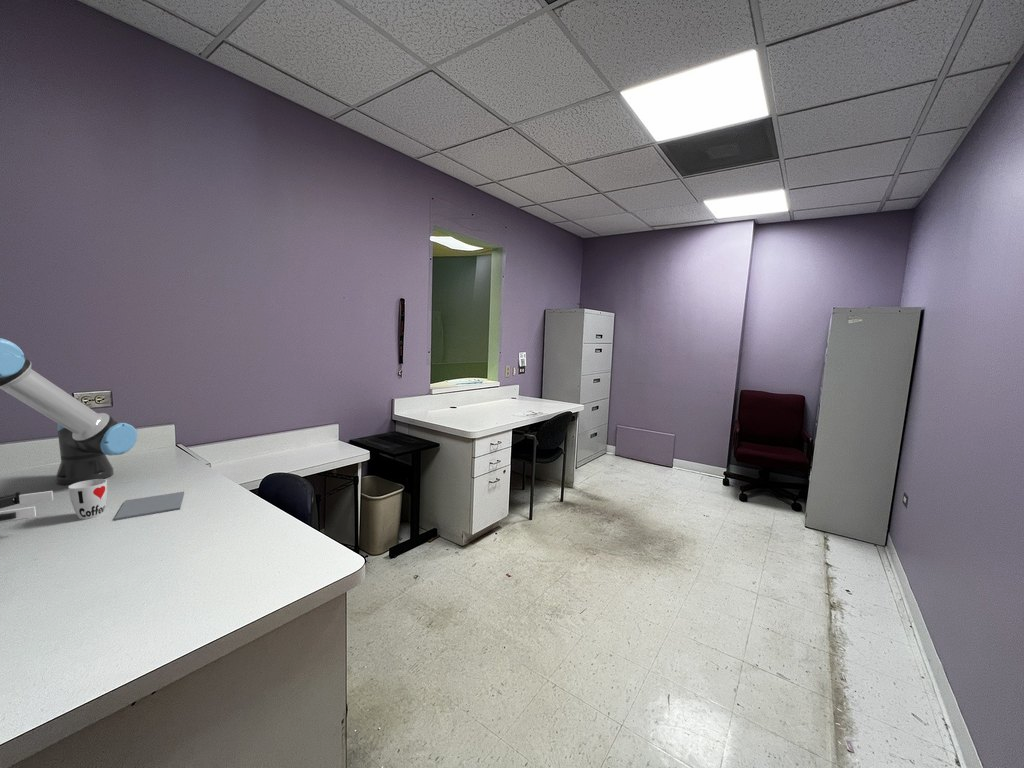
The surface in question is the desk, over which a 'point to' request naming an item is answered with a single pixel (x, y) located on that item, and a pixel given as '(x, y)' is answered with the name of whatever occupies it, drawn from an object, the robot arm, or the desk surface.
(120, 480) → the desk surface
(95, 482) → the cup
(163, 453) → the desk surface
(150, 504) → the mat
